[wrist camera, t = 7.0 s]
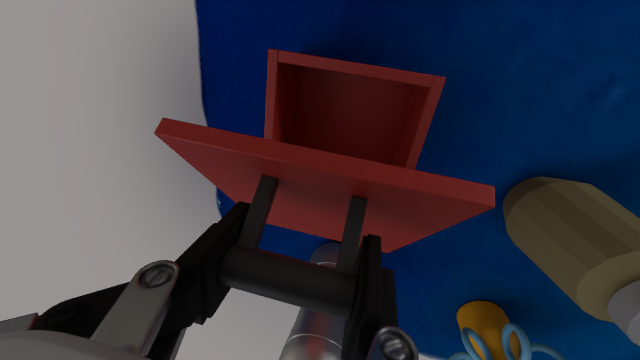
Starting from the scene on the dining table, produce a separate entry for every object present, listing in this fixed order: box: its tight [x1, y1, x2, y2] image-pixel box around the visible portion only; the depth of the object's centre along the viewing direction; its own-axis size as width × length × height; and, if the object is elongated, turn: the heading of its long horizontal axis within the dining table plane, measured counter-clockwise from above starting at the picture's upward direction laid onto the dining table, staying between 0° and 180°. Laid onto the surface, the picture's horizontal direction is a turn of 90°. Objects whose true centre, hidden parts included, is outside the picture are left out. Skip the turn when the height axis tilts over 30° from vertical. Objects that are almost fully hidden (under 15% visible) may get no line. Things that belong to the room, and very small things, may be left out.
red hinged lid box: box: [264, 48, 446, 170], centre depth 24 cm, size 15×13×8 cm
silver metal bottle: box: [279, 242, 345, 360], centre depth 26 cm, size 6×7×20 cm
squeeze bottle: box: [503, 177, 640, 346], centre depth 18 cm, size 8×8×18 cm
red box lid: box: [155, 118, 495, 320], centre depth 15 cm, size 15×13×5 cm
